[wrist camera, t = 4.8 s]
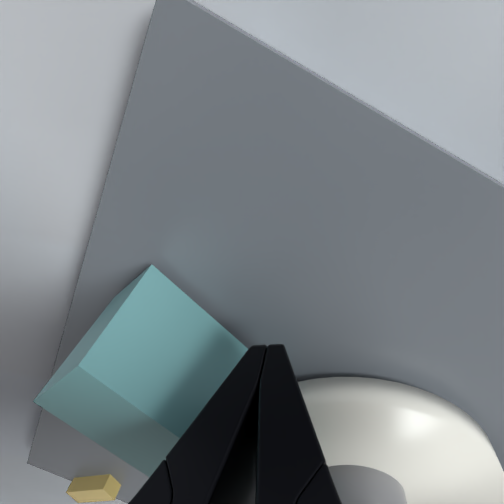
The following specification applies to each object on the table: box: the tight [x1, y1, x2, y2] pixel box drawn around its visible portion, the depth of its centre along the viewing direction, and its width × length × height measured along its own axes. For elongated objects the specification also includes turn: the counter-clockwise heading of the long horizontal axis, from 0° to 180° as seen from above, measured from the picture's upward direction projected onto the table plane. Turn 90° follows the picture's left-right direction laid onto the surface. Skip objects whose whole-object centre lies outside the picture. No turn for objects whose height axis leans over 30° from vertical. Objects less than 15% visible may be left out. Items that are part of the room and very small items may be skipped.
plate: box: [27, 0, 504, 503], centre depth 14 cm, size 22×24×2 cm
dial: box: [33, 265, 504, 504], centre depth 11 cm, size 16×10×4 cm, turn 43°
